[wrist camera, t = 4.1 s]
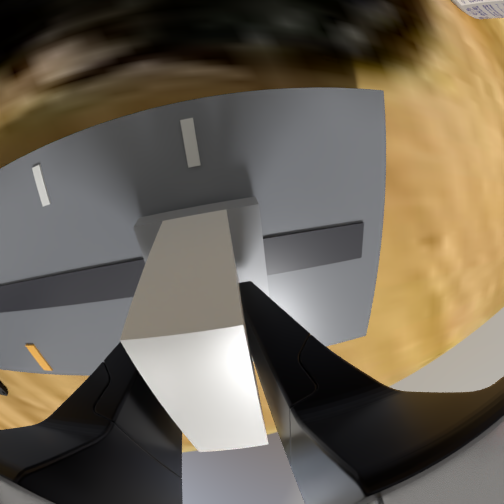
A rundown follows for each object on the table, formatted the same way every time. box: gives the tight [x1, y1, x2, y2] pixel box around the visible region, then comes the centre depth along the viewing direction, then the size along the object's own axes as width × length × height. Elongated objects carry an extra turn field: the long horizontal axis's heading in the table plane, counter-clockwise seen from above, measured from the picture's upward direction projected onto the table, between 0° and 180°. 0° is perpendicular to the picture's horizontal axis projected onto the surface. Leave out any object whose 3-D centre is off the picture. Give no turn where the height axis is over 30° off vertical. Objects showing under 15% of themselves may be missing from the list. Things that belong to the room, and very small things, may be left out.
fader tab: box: [120, 197, 269, 452], centre depth 8 cm, size 4×5×6 cm
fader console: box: [0, 88, 386, 375], centre depth 11 cm, size 26×12×2 cm, turn 97°
